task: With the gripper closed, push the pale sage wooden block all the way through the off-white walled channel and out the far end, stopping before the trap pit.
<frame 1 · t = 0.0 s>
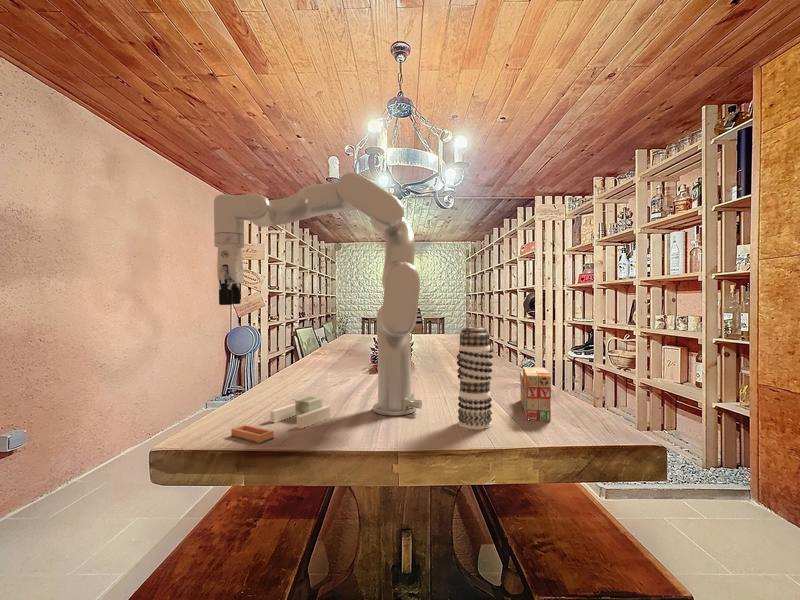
hand: (230, 304, 114), 31 cm above the table, tool pointing down, fingers open, 9 cm apart
walled channel: (300, 419, 113), on the table
decorative candle: (475, 425, 108), on the table
stack of blocks: (534, 411, 121), on the table
trap pit: (252, 437, 99), on the table
sage block: (308, 417, 116), on the table
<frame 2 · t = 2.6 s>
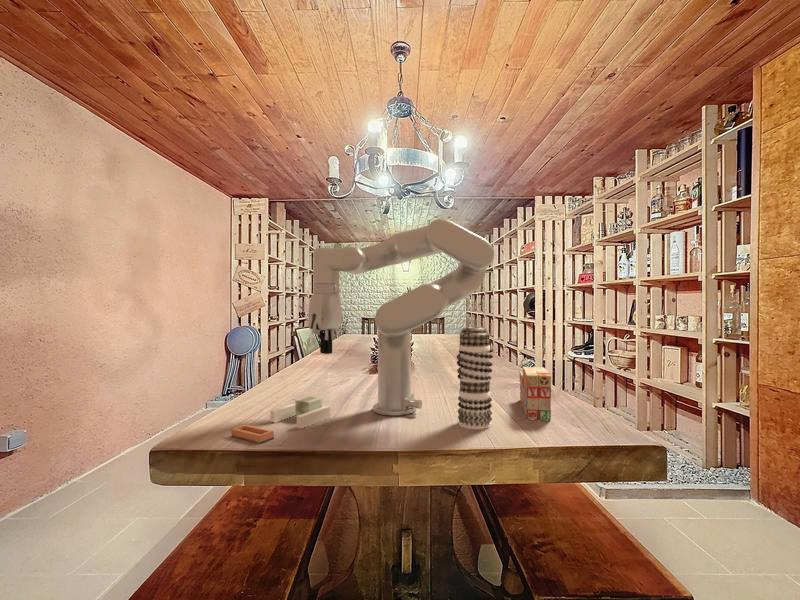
hand: (326, 353, 122), 17 cm above the table, tool pointing down, fingers closed
nothing on the table moved.
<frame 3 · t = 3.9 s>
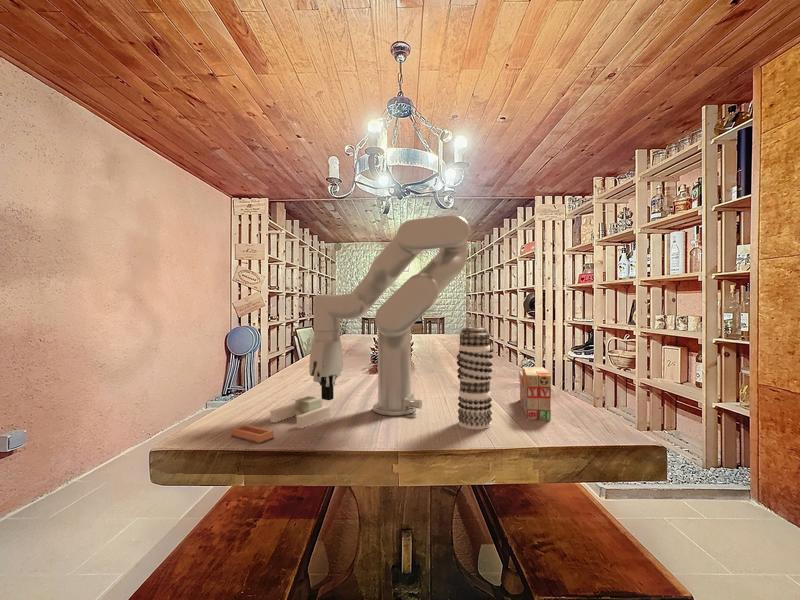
hand: (327, 399, 122), 3 cm above the table, tool pointing down, fingers closed
nothing on the table moved.
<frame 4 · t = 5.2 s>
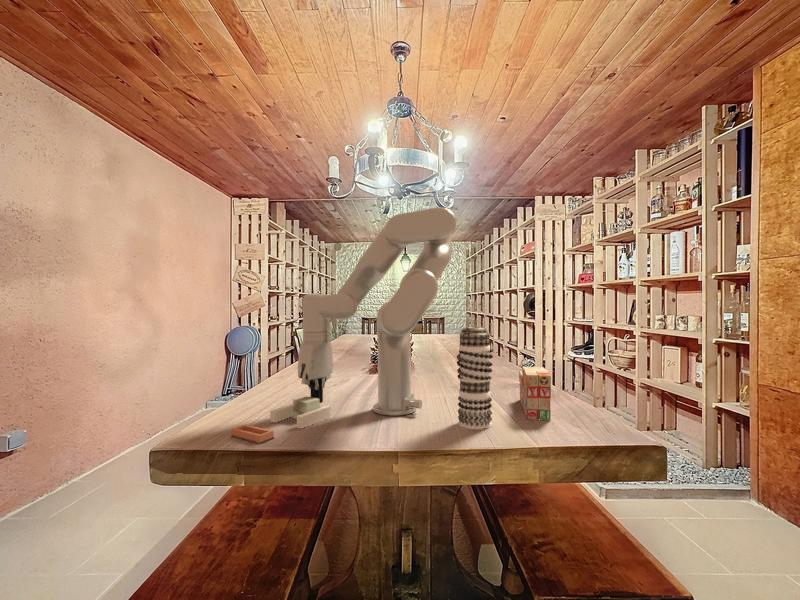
hand: (316, 402, 119), 3 cm above the table, tool pointing down, fingers closed
sage block: (306, 417, 115), on the table, touching gripper
everything else where it was.
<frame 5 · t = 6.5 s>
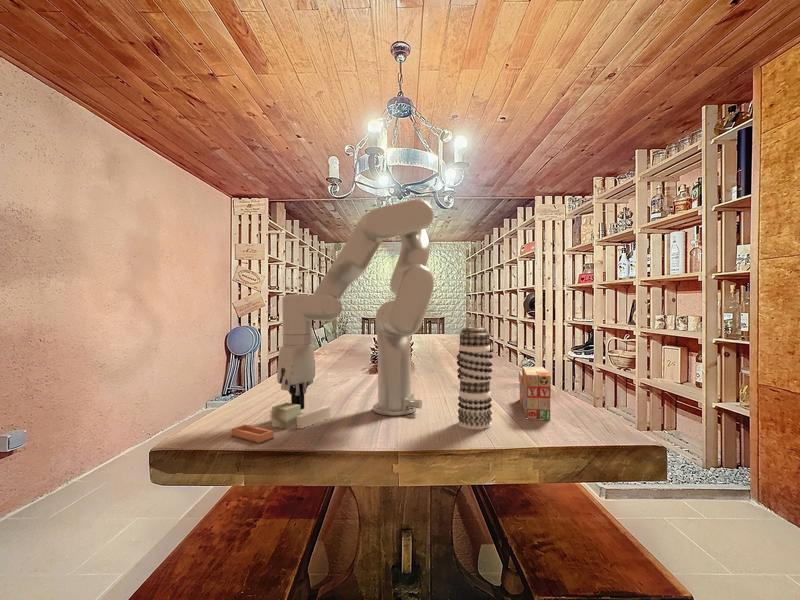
hand: (297, 408, 112), 3 cm above the table, tool pointing down, fingers closed
sage block: (286, 425, 109), on the table, touching gripper
everything else where it was.
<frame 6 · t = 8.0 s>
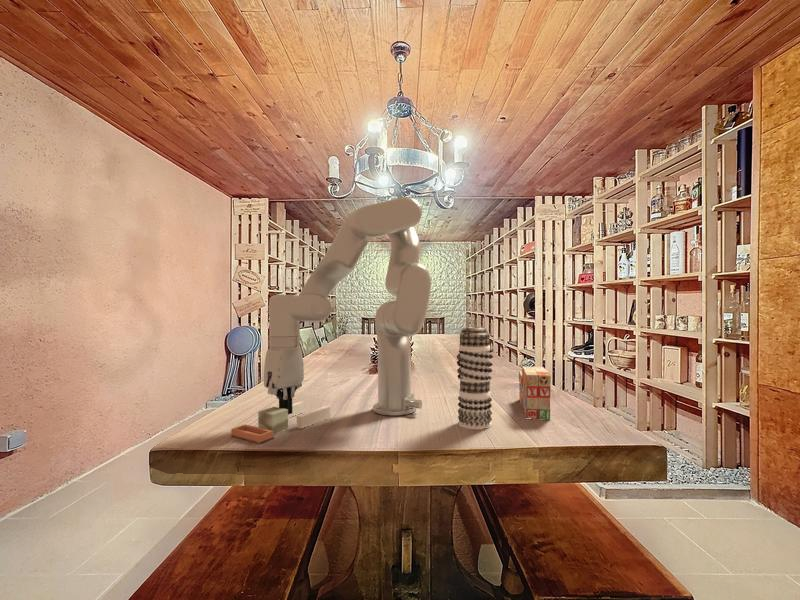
hand: (285, 413, 108), 3 cm above the table, tool pointing down, fingers closed
sage block: (273, 430, 105), on the table, touching gripper
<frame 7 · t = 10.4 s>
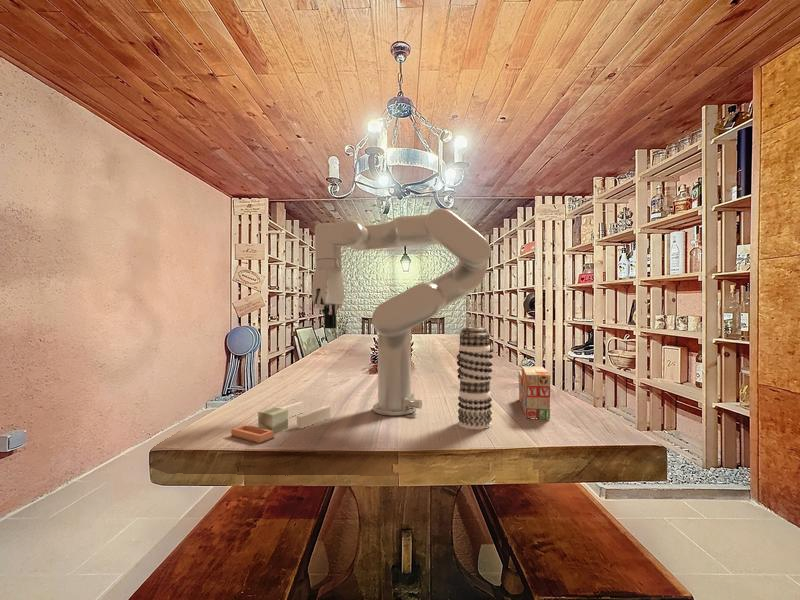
hand: (330, 328, 124), 24 cm above the table, tool pointing down, fingers closed
sage block: (273, 430, 105), on the table
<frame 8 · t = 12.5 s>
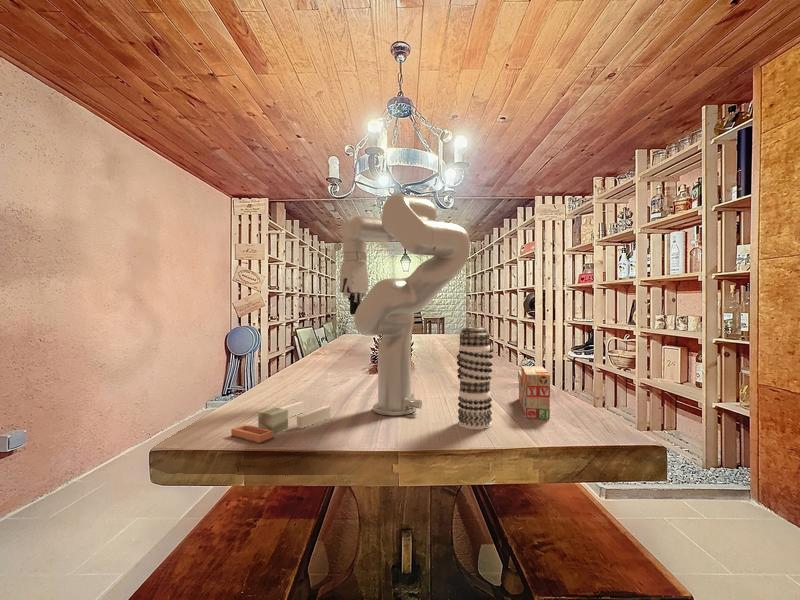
hand: (355, 314, 139), 27 cm above the table, tool pointing down, fingers closed
at the end: sage block 0.4 cm from the target spot, on the table; sage block touching table; sage block tilted 0° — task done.
